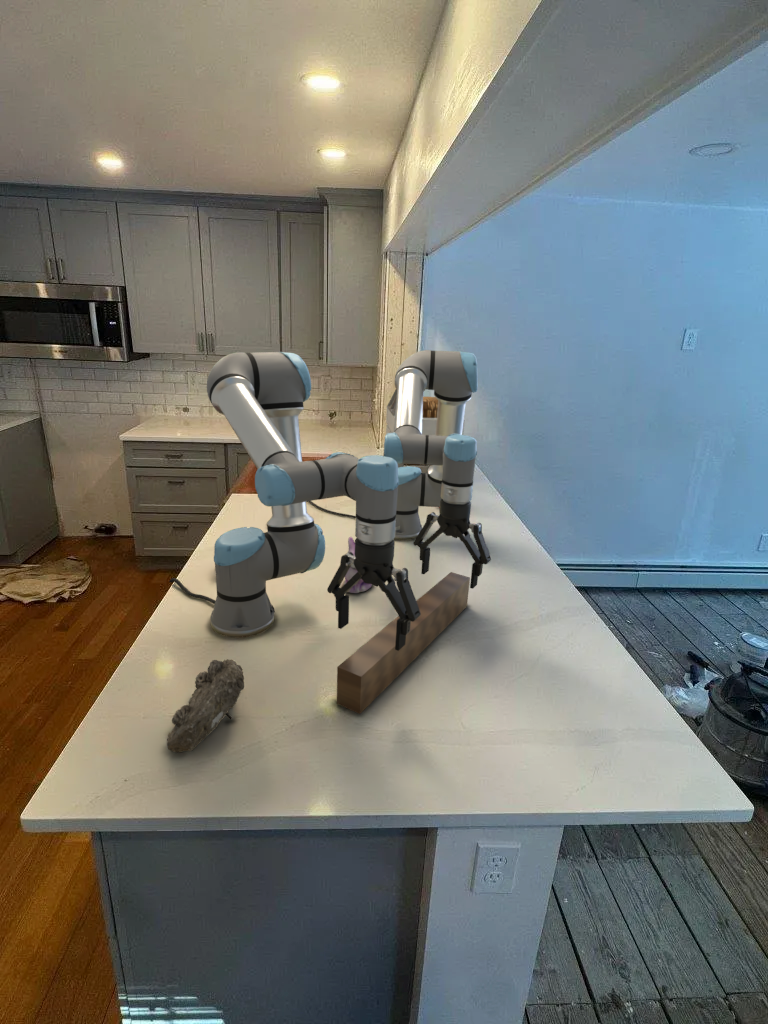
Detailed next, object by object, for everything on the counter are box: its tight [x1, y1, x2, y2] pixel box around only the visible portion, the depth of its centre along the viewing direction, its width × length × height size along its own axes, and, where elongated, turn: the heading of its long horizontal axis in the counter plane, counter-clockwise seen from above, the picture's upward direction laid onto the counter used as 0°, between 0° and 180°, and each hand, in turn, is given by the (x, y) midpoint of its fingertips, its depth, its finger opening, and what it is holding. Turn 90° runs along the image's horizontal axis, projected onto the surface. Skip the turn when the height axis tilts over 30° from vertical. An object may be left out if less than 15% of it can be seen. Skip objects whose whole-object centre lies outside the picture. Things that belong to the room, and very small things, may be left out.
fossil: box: [166, 658, 245, 754], centre depth 106 cm, size 22×10×15 cm
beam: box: [336, 571, 471, 715], centre depth 132 cm, size 52×6×9 cm, turn 149°
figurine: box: [343, 536, 373, 594], centre depth 158 cm, size 9×10×15 cm
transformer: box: [385, 389, 465, 468], centre depth 268 cm, size 34×33×41 cm
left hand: (370, 636), depth 114 cm, fingers open, 13 cm apart
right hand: (448, 579), depth 144 cm, fingers open, 13 cm apart
